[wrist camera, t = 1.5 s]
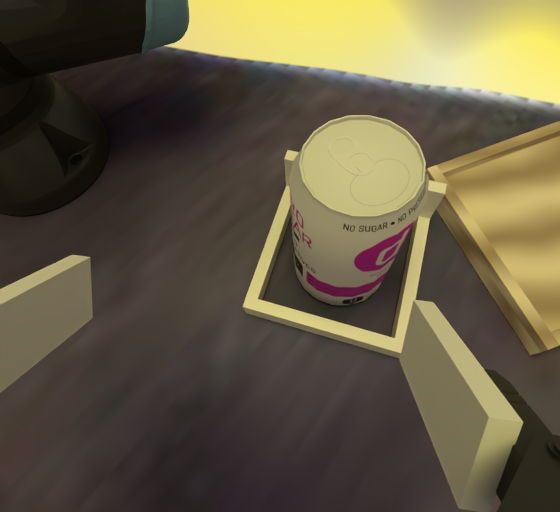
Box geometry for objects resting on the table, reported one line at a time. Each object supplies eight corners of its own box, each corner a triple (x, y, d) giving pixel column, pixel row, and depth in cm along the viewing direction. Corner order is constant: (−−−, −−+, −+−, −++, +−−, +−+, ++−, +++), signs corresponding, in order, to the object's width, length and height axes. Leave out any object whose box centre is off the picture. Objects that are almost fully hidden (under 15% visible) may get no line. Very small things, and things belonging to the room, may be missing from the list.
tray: (419, 183, 38) (427, 168, 36) (558, 133, 39) (574, 115, 37) (529, 355, 31) (548, 349, 28) (694, 286, 32) (724, 275, 30)
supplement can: (403, 270, 34) (469, 169, 21) (334, 326, 33) (355, 256, 19) (343, 210, 37) (366, 86, 23) (276, 259, 35) (259, 156, 22)
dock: (245, 313, 34) (234, 291, 28) (290, 188, 39) (287, 149, 33) (399, 358, 31) (419, 344, 26) (425, 220, 36) (446, 183, 31)
